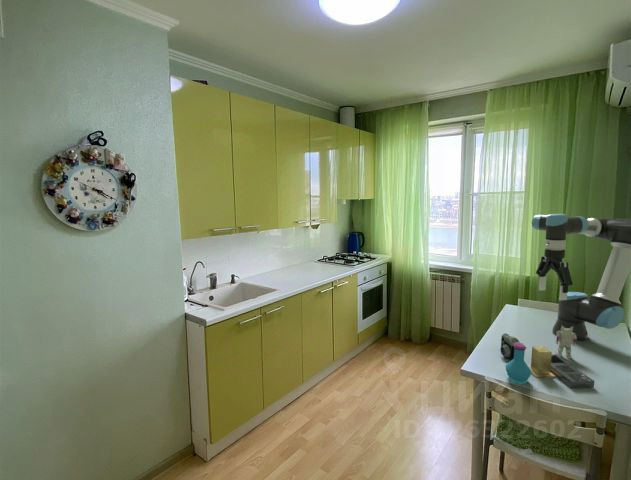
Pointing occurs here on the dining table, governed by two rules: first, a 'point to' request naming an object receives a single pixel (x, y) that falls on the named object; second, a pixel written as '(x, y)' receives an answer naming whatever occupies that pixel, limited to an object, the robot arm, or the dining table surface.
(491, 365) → the dining table surface
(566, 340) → the figurine
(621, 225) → the robot arm
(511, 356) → the camera
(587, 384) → the grey slotted tray
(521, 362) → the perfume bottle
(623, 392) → the dining table surface
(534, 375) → the cork mat
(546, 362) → the block
